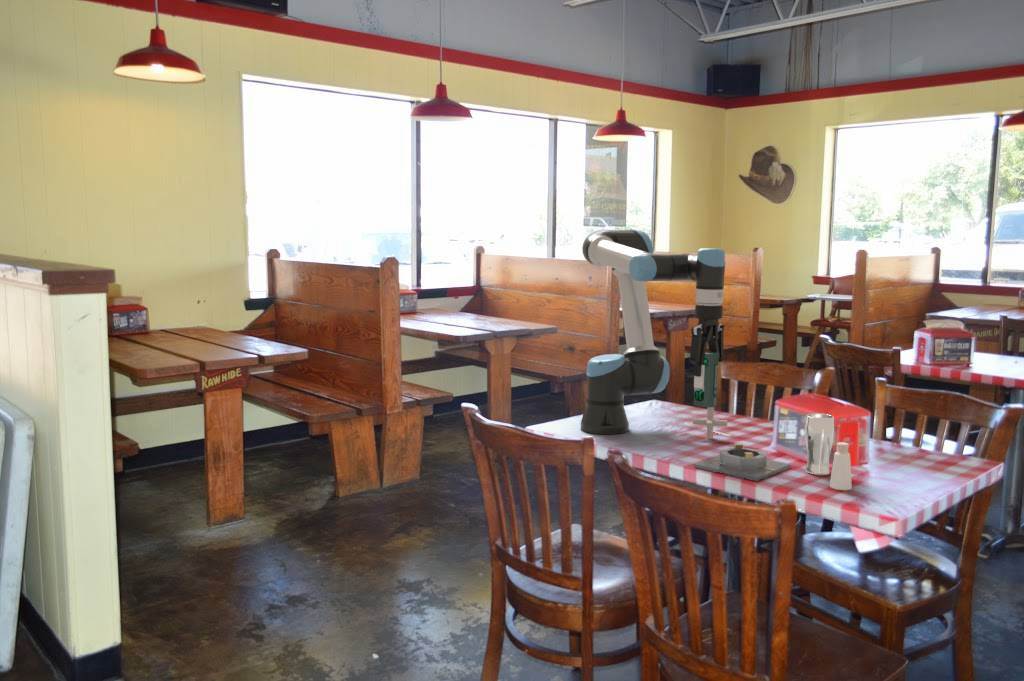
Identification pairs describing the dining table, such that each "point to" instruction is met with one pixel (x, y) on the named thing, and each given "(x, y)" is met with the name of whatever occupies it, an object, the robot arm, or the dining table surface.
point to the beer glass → (819, 442)
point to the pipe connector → (710, 422)
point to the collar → (743, 463)
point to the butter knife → (721, 433)
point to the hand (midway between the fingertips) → (705, 385)
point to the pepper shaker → (841, 468)
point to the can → (708, 382)
